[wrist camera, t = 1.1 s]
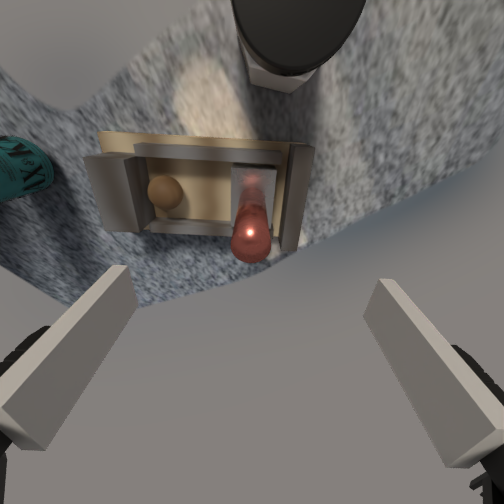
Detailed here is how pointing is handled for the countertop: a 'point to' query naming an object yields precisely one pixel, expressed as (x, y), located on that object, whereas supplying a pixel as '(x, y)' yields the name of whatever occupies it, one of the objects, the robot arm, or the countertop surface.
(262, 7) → the jar
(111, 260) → the countertop surface
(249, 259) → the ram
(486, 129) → the countertop surface
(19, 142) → the beverage bottle
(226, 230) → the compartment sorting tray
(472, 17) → the countertop surface
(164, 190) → the nut
